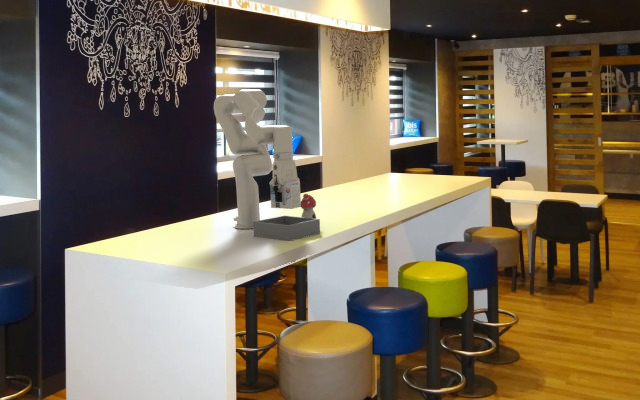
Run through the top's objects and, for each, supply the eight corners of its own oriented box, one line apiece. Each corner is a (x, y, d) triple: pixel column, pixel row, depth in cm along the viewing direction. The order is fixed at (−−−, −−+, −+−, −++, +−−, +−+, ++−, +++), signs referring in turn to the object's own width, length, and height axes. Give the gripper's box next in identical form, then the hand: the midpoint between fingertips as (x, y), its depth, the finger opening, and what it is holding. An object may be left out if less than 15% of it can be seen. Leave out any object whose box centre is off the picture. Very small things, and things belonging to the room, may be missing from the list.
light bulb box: (270, 208, 283) (269, 181, 281) (280, 205, 288) (278, 179, 287) (292, 209, 277) (290, 182, 276) (301, 206, 282) (300, 180, 281)
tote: (254, 236, 284) (253, 221, 283) (285, 229, 297) (284, 215, 297) (289, 240, 271) (288, 225, 270) (320, 233, 284) (319, 218, 283)
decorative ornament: (308, 229, 295) (307, 194, 293) (296, 228, 298) (294, 193, 296) (321, 226, 302) (320, 191, 300) (309, 225, 306) (308, 191, 304)
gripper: (274, 158, 271) (276, 203, 273) (305, 155, 284) (307, 198, 286) (261, 158, 276) (263, 202, 278) (291, 155, 289) (293, 197, 291)
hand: (285, 200), depth 282 cm, fingers closed on light bulb box, 7 cm apart
